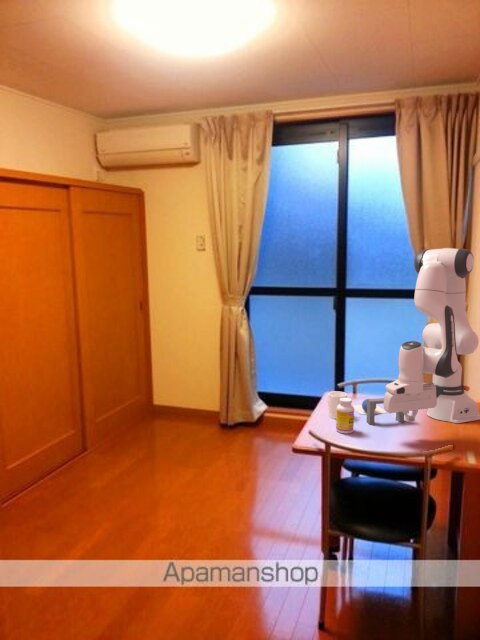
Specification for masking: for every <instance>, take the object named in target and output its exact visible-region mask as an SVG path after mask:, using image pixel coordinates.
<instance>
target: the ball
mask: <svg viewBox="0 0 480 640" xmlns="http://www.w3.org/2000/svg"><path fill="white" fill-rule="evenodd" d="M367 399H368V398H366V399H364V400H363V401H362V403H361V405H362V408H363V410H364V411H365V412H367ZM376 405H377V404H375V409H376Z"/></svg>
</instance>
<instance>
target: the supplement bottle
mask: <svg viewBox="0 0 480 640" xmlns="http://www.w3.org/2000/svg"><path fill="white" fill-rule="evenodd" d="M339 402H340V404H339V405H338V406H337V415H336V419H335V423H336V424H335V430H336V431H337V433H339V434H347V435H348V434H351V433H353V432H354V423H355V422H354V420H355V418H354V417H355V409H354V407H353V406H352V402H353V399H351V398H350V397H347V398H340V400H339Z"/></svg>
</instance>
